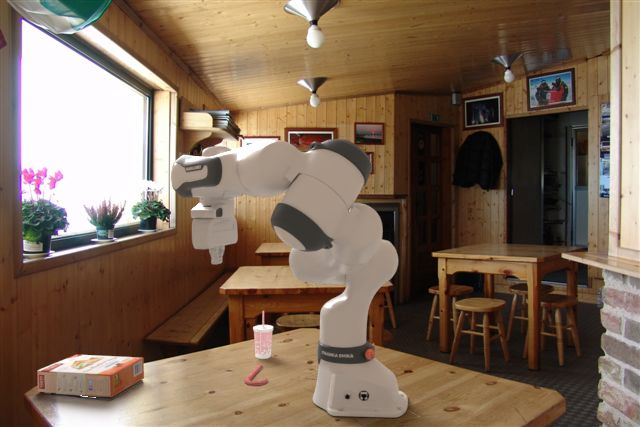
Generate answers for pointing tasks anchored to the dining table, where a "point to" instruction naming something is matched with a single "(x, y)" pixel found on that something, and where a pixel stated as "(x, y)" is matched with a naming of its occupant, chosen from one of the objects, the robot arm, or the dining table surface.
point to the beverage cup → (263, 340)
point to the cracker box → (91, 375)
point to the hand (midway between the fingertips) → (216, 263)
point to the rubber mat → (118, 393)
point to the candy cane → (253, 373)
